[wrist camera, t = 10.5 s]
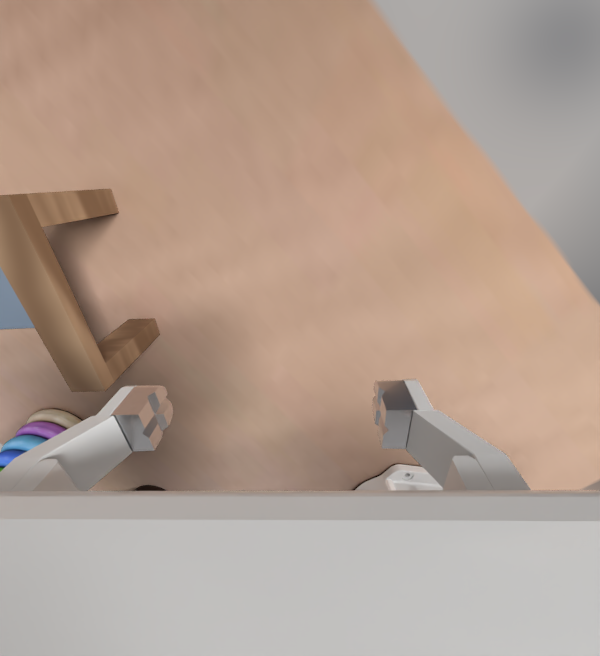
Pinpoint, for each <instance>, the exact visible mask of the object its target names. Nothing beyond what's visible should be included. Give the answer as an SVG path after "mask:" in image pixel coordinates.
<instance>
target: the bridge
mask: <svg viewBox="0 0 600 656" xmlns="http://www.w3.org/2000/svg"><path fill="white" fill-rule="evenodd" d="M115 213H119V211H118V208H117V205H116V202H115V200H114V197H113V194H112V191H111V189H99V190H82V191H65V192H48V193H32V194H15V195H0V267H1V269H2V271H3V273H4V274H5V276H6V278H7V280H8V281H9V283H10V285H11V287H12V288H13V290H14V292H15V294H16V295H17V297H18V299H19V301H20V302H21V304H22V306H23V308H24V309H25V311H26V313H27V315H28V316H29V318H30V320H31V322H32V323H33V325H34V327H35V329H36V330H37V332H38V334H39V336H40V337H41V339H42V341H43V343H44V344H45V346H46V348H47V349H48V351H49V353H50V355H51V356H52V358H53V360H54V362H55V363H56V365H57V367H58V369H59V370H60V372H61V374H62V376H63V377H64V379H65V381H66V383H67V384H68V386H69V388H70V390H71V391H72V392H87V391H106V390H107V389H108V388H109V387H110V386H111V385H112V384H113V383H114V382H115V381H116V380H117V379H118V378H119V377H120V375H121V374H122V373H123V372H124V371H125V370H126V369H127V368H128V367H129V366H130V365H131V364H132V363H133V362H134V361H135V360H136V359H137V358H138V357H139V356H140V355H141V354H142V352H143V351H144V350H145V349H146V348H147V347H148V346H149V345H150V344H151V343H152V342H153V341H154V340H155V339H156V338H157V337H158V336H159V335H160V333H159V330H158V327H157V324H156V321H155V319H133V320H128V321H126V322H125V323H124V324H123V325H121V326H120V327H119V328H117V329H116V330H115V331H114V332H112V333H111V334H110V335H109V336H107V337H106V338H105V339H103V340H102V341H101V342H100V343H98V344H96V342H95V340H94V337H93V335H92V333H91V331H90V329H89V327H88V325H87V323H86V320H85V318H84V316H83V314H82V312H81V310H80V308H79V306H78V303H77V301H76V299H75V297H74V295H73V293H72V291H71V288H70V286H69V284H68V282H67V280H66V278H65V276H64V274H63V271H62V269H61V267H60V265H59V263H58V261H57V259H56V256H55V254H54V252H53V250H52V248H51V246H50V244H49V242H48V239H47V237H46V235H45V233H44V231H43V229H42V227H46V226H51V225H56V224H62V223H67V222H72V221H78V220H83V219H88V218H94V217H99V216H104V215H110V214H115Z"/></svg>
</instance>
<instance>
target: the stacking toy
mask: <svg viewBox="0 0 600 656" xmlns="http://www.w3.org/2000/svg"><path fill="white" fill-rule="evenodd" d="M80 422H82V421H81V420H80V419H79V418H77V417H76V416H74V415H72V414H70V413H68V412H65V411H61V410H56V409H45V410H41V411H38V412H36V413H34V414H33V415H31V416H30V417H29V419H28V420H27V423H26V425H24V426H23V427H21V428H20V429H19V430H18V432H17V433H16V436H15V437H14V438H12V439H10V440H9V441H7V442H6V443H5V444H4V446H3V447H2V449H1V452H0V472H1V471H2V470H3V469H4V468H5V467H6V466H7V465H8V464H9V463H10V462H11V461H12V460H13V459H14V458H16V457H18V456H20V455H21V454H23V453H25V452H27V451H29V450H30V449H32V448H34V447H36V446H38V445H40V444H41V443H43V442H45V441H47V440H49V439H51V438H52V437H54V436H56V435H58V434H60V433H62V432H63V431H65V430H67V429H69V428H71V427H73V426H74V425H76V424H78V423H80Z"/></svg>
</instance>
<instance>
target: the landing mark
mask: <svg viewBox="0 0 600 656" xmlns="http://www.w3.org/2000/svg"><path fill="white" fill-rule="evenodd" d="M16 328H35V327H34V325H33V323H32V322H31V320H30V318H29V316H28V315H27V313H26V311H25V309H24V308H23V306H22V304H21V302H20V301H19V299H18V297H17V295H16V294H15V292H14V290H13V288H12V287H11V285H10V283H9V281H8V280H7V278H6V276H5V274H4V273H3V271H2V269H1V267H0V329H16Z"/></svg>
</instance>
